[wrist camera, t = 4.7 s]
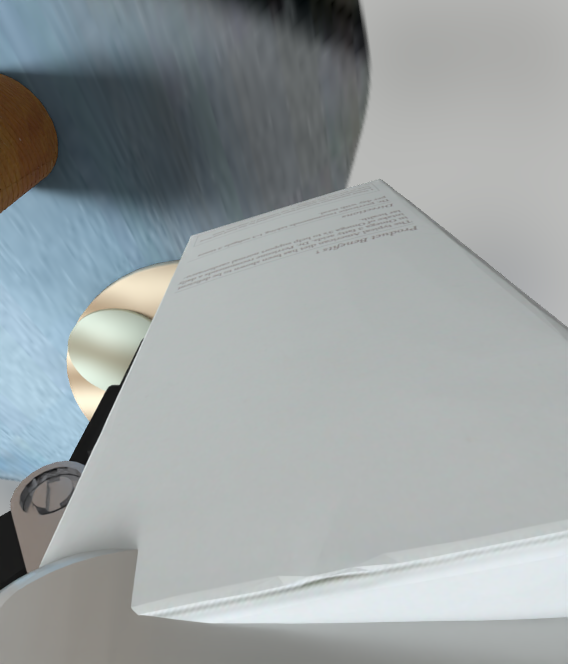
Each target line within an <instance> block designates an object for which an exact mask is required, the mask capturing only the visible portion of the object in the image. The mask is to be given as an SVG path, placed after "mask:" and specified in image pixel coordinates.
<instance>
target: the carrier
mask: <svg viewBox="0 0 568 664" xmlns="http://www.w3.org/2000/svg"><path fill="white" fill-rule="evenodd" d="M179 261H180V260H174V261H168V262H162V263H157V264H153V265H150V266H147V267H143V268H140V269H138V270H135V271H133V272H131V273H129V274H127V275H125V276H123V277H121V278H120V279H118V280H117V281H115V282H113V283H112V284H110V285H109V286H108V287H107V288H105V289H104V290H103V291H102V292H101V293H100V294H99V295H98V296H97V297H96V298H95V299H94V300H93V301H92V303H91V304H90V305H89V306H88V308H87V309H86V310H85V312H84V313H83V314H82V315H81V317H80V318H79V320H78V322H77V324H76V326H75V327H74V328H73V330H72V332H71V334H70V336H69V340H68V353H67V373H68V378H69V382H70V387H71V389H72V392H73V395H74V397H75V400H76V401H77V403H78V405H79V407H80V408H81V410H82V412H83V413H84V415H85V416H86V417H87V419H88V420H89V421H90V420H91V418H92V416H93V414H94V412H95V410H96V409H97V407H98V405H99V403H100V401H101V399H102V397H103V395H104V393H105V391H106V390H107V388H108V387H109V386H111V385H120V383H121V381H122V379H123V377H124V375H125V373H126V371H127V369H128V367H129V365H130V363H131V361H132V359H133V357H134V355H135V353H136V351H137V349H138V347H139V344H140V342H141V340H142V339H143V338H144V337H145V335H146V333H147V331H148V329H149V327H150V324H151V322H152V320H153V318H154V316H155V313H156V311H157V309H158V307H159V305H160V303H161V301H162V299H163V297H164V294H165V292H166V290H167V288H168V286H169V283H170V281H171V279H172V277H173V275H174V272H175V270H176V268H177V266H178V264H179Z"/></svg>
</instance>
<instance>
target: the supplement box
mask: <svg viewBox="0 0 568 664" xmlns="http://www.w3.org/2000/svg"><path fill="white" fill-rule="evenodd" d="M111 548H119V549H137V550H138V556H137V563H136V571H135V578H134V586H133V594H132V602H131V608H132V610H133V611H134V612H135V613H136V614H137V615H146V616H154V617H162V618H169V619H177V620H185V621H194V622H203V623H282V624H307V623H370V622H421V621H487V620H519V619H540V618H561V617H568V327H567V326H565V325H564V324H563V323H562V322H560V321H559V320H558V319H557V318H555V317H554V316H553V315H552V314H550V313H549V312H548V311H546V310H545V309H544V308H543V307H541V306H540V305H539V304H538V303H536V302H535V301H534V300H533V299H531V298H530V297H529V296H527V295H526V294H525V293H524V292H522V291H521V290H520V289H519V288H517V287H516V286H515V285H514V284H513V283H511V282H510V281H509V280H507V279H506V278H505V277H504V276H503V275H502V274H500V273H499V272H498V271H496V270H495V269H494V268H493V267H491V266H490V265H489V264H488V263H487V262H485V261H484V260H483V259H482V258H480V257H479V256H478V255H477V254H475V253H474V252H473V251H471V250H470V249H469V248H468V247H467V246H465V245H464V244H463V243H461V242H460V241H459V240H458V239H456V238H455V237H454V236H453V235H452V234H450V233H449V232H448V231H447V230H445V229H444V228H443V227H441V226H440V225H439V224H438V223H436V222H435V221H434V220H432V219H431V218H430V217H429V216H428V215H426V214H425V213H424V212H422V211H421V210H420V209H419V208H417V207H416V206H415V205H414V204H412V203H411V202H410V201H409V200H407V199H406V198H404V197H403V196H402V195H401V194H399V193H398V192H397V191H395V190H394V189H393V188H392V187H390V186H389V185H388V184H386V183H385V182H384V181H383V180H381V179H379V180H375V181H372V182H368V183H365V184H361V185H358V186H354V187H350V188H346V189H343V190H340V191H336V192H333V193H330V194H326V195H323V196H320V197H316V198H313V199H310V200H307V201H303V202H300V203H297V204H294V205H290V206H287V207H284V208H281V209H277V210H274V211H271V212H268V213H264V214H261V215H258V216H255V217H251V218H248V219H245V220H242V221H238V222H235V223H232V224H229V225H225V226H222V227H219V228H216V229H212V230H209V231H206V232H203V233H199V234H195V235H192V236H191V237H190V240H189V242H188V244H187V246H186V248H185V251H184V253H183V255H182V257H181V259H180V261H179V264H178V266H177V268H176V270H175V272H174V275H173V277H172V279H171V281H170V283H169V286H168V288H167V290H166V292H165V294H164V297H163V299H162V301H161V303H160V305H159V307H158V309H157V311H156V313H155V316H154V318H153V320H152V322H151V324H150V327H149V329H148V331H147V333H146V335H145V337H144V339H143V342H142V344H141V346H140V348H139V351H138V353H137V355H136V357H135V359H134V362H133V364H132V366H131V368H130V370H129V373H128V375H127V377H126V379H125V381H124V383H123V386H122V388H121V390H120V392H119V394H118V396H117V398H116V401H115V403H114V405H113V407H112V409H111V411H110V414H109V416H108V418H107V420H106V423H105V425H104V427H103V430H102V432H101V434H100V436H99V438H98V440H97V442H96V444H95V446H94V448H93V450H92V452H91V455H90V457H89V459H88V461H87V464H86V466H85V468H84V470H83V472H82V475H81V477H80V479H79V481H78V484H77V486H76V488H75V490H74V492H73V495H72V497H71V499H70V501H69V503H68V505H67V507H66V510H65V512H64V514H63V516H62V518H61V520H60V522H59V525H58V527H57V529H56V531H55V533H54V535H53V538H52V540H51V542H50V544H49V546H48V548H47V551H46V553H45V555H44V557H43V559H42V562H41V564H40V566H39V568H40V567H42V566H44V565H46V564H48V563H51V562H54V561H57V560H59V559H62V558H65V557H68V556H71V555H74V554H78V553H83V552H88V551H94V550H102V549H111Z"/></svg>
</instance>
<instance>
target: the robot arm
mask: <svg viewBox="0 0 568 664" xmlns="http://www.w3.org/2000/svg"><path fill="white" fill-rule="evenodd" d="M143 339H144V338H143ZM143 339H142V340H141V342H140V344H139V347H138V349H137V351H136V353H135V355H134V357H133V359H132V361H131V363H130V365H129V367H128V369H127V371H126V373H125V375H124V377H123V379H122V381H121V383H120V385H111V386H109V387H108V388H107V390H106V391H105V393H104V395H103V397H102V399H101V401H100V403H99V405H98V407H97V409H96V410H95V412H94V414H93V416H92V418H91V420H90V422H89V424H88V426H87V428H86V429H85V431H84V433H83V435H82V437H81V439H80V441H79V443H78V445H77V447H76V448H75V450H74V452H73V454H72V456H71V458H70V460H69V461H62V462H55V463H52V464H49V465H46V466H43V467H42V468H40V469H38V470H36V471H34V472H33V473H31V474H30V475H29V476H28V477H26V478H25V479H24V480H23V481H22V482H21V483H20V484H19V486H18V487H17V488H16V489H15V491H14V493H13V496H12V498H11V501H10V502H11V504H10V506H11V507H10V508H11V511H9V512H7V513H5V514H4V515H2V516H0V664H568V617H561V618H540V619H519V620H487V621H421V622H370V623H307V624H282V623H203V622H194V621H185V620H177V619H169V618H162V617H154V616H146V615H137V614H136V613H135V612H134V611H133V610H132V608H131V602H132V594H133V586H134V578H135V571H136V563H137V556H138V550H137V549H119V548H111V549H102V550H94V551H88V552H83V553H78V554H74V555H71V556H68V557H65V558H62V559H59V560H57V561H54V562H51V563H48V564H46V565H44V566H42V567H40V568H39V566H40V564H41V562H42V559H43V557H44V555H45V553H46V551H47V548H48V546H49V544H50V542H51V540H52V538H53V535H54V533H55V531H56V529H57V527H58V525H59V522H60V520H61V518H62V516H63V514H64V512H65V510H66V507H67V505H68V503H69V501H70V499H71V497H72V495H73V492H74V490H75V488H76V486H77V484H78V481H79V479H80V477H81V475H82V472H83V470H84V468H85V466H86V464H87V461H88V459H89V457H90V455H91V452H92V450H93V448H94V446H95V444H96V442H97V440H98V438H99V436H100V434H101V432H102V430H103V427H104V425H105V423H106V420H107V418H108V416H109V414H110V411H111V409H112V407H113V405H114V403H115V401H116V398H117V396H118V394H119V392H120V390H121V388H122V386H123V383H124V381H125V379H126V377H127V375H128V373H129V370H130V368H131V366H132V364H133V362H134V359H135V357H136V355H137V353H138V351H139V348H140V346H141V344H142V342H143Z"/></svg>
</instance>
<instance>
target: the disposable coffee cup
mask: <svg viewBox="0 0 568 664" xmlns="http://www.w3.org/2000/svg"><path fill="white" fill-rule="evenodd" d="M57 156H58V140H57V134H56V130H55V128H54V125H53V122H52V120H51V118H50V116H49V114H48V113H47V111H46V109H45V107H44V106H43V105H42V103H41V102H40V101H39V99H38V98H37V97H36V96H35V95H34V94H33V93H32V92H31V91H30V90H28V89H27V88H26V87H24V86H23V85H22V84H20V83H19V82H18V81H16V80H14V79H12V78H10V77H8V76H6V75H3V74H0V213H1V212H2V211H3V210H5V209H6V208H7V207H8V206H10V205H11V204H12V203H14V202H15V201H16V200H17V199H19V198H20V197H21V196H22V195H23V194H25V193H26V192H27V191H29V190H30V189H31V188H32V187H34V186H35V185H36V184H38V183H39V182H40V181H41V180H43V179H44V178H45V177H47V176H48V175H49V173H50V172H51V171H52V169H53V167H54V165H55V163H56V160H57Z"/></svg>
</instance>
